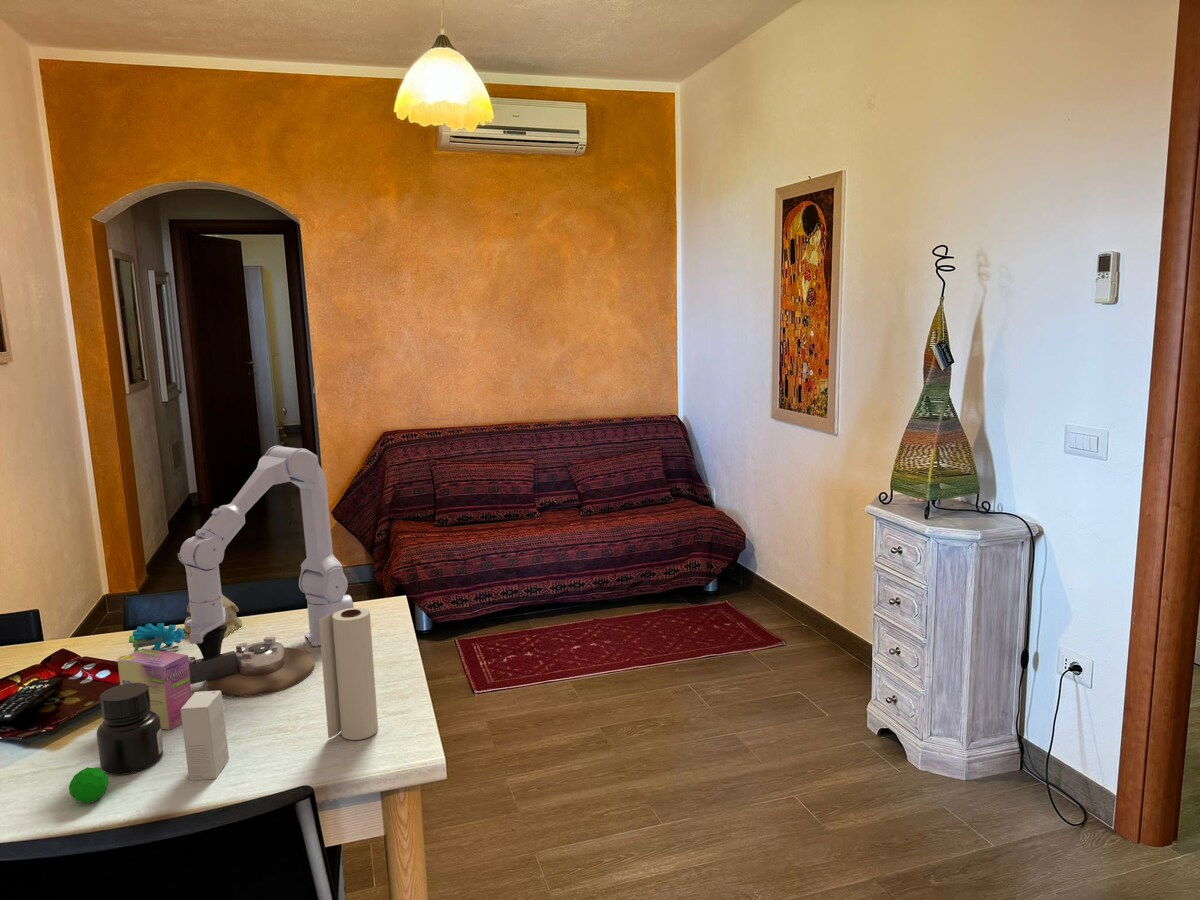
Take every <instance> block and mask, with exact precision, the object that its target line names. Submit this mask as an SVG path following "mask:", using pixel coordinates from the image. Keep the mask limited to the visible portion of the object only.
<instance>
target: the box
mask: <svg viewBox="0 0 1200 900" xmlns="http://www.w3.org/2000/svg"><path fill="white" fill-rule="evenodd" d="M188 657H189V655H188V654H182V653H176V652H170V651H164V650H163V651H162V650H159V651H157V650H154V649H150V648H140V649H138V651H136V652H134V651H133V652H132V653H129V654H128V655H125V656H123V657H121V658H118V660H117V665H118V666H117V667H118V674H119V675H118V677H119V685H122V684H128V683H145V684H146V685H148V687H149V695H150V705H151V708H150V710H151V711H152V712H154V713H156V714H157V715H158V716H159V719H160V725H161V730H162V729H163V730H166V731H171V730H173V729H174V728H177V727H178V726H180V725H181V724H182V717H181V708H182V707H183V706H184V705H185V703H186V702H187V701H188V700H189V699H190V697H191V696H192V695H193V694H192V684H191V683H190V671H189V660H188Z"/></svg>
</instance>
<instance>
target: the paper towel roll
mask: <svg viewBox="0 0 1200 900" xmlns="http://www.w3.org/2000/svg"><path fill="white" fill-rule="evenodd" d="M371 623H372V621H371V612H370V610H369V609H367V608H364V607H354V608H348V609H344V610H340V611H337V612H334V613H332V614H330V615H328V616H326V617H324V618H320V619H319V628H320V641H321V645H320V649H321V650H320V651H321V664H322V676H323V687H324V699H325V700H324V701H325V702H324V703H325V711H326V712H325V713H326V725H327V735H328V736H327V737H328V739H330V738H334V737H335V736H336V735H338V734H339V733H341V736H342V738H344V739H346V740H350V741H359V740H364V739H367V738H369V737H373V736H374V735H376V733H377V732H378V730H379V726H378V723H379V722H378V711H377V694H376V680H375V667H374V666H375V665H374V654H373V653H374V652H373V651H374V650H373V637H372V625H371Z"/></svg>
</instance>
